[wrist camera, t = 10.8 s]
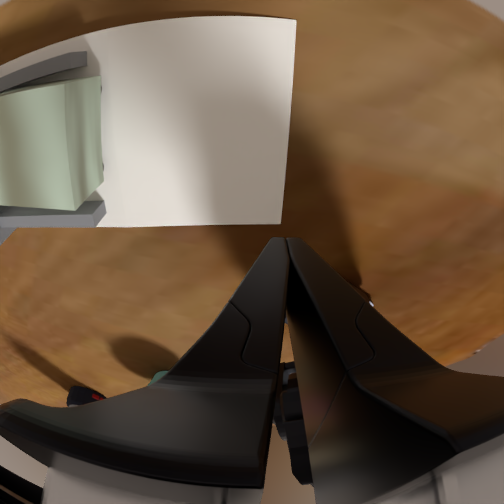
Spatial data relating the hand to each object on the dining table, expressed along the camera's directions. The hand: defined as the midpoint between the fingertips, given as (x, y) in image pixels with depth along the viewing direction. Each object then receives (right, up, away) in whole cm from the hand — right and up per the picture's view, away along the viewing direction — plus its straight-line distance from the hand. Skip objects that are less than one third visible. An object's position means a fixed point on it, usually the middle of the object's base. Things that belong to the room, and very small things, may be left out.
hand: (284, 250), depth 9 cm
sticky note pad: (-15, +8, +7) cm, 18 cm away
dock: (-11, +9, +9) cm, 17 cm away
